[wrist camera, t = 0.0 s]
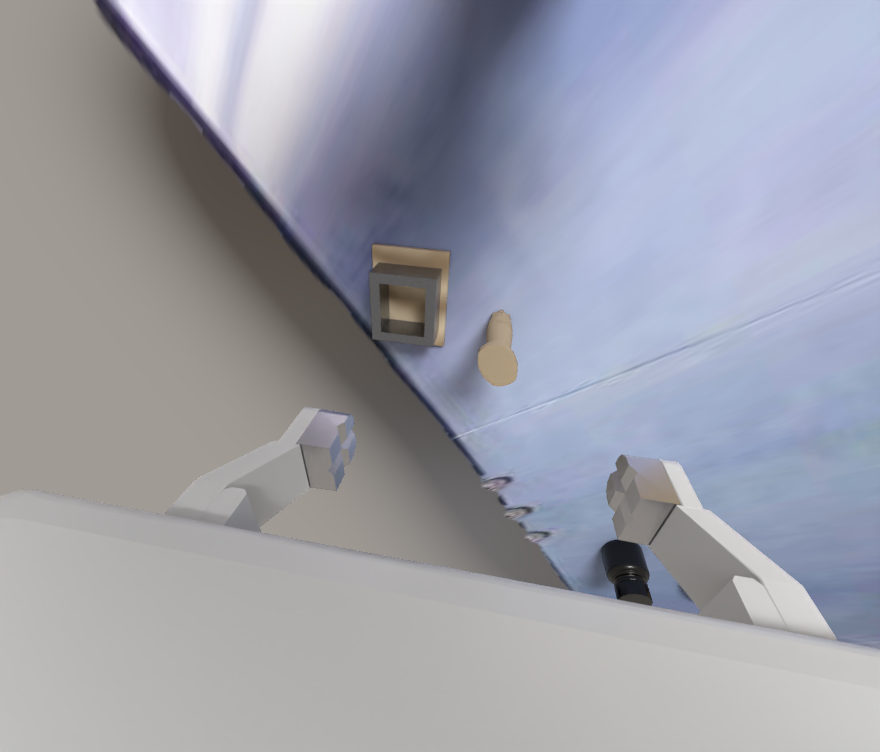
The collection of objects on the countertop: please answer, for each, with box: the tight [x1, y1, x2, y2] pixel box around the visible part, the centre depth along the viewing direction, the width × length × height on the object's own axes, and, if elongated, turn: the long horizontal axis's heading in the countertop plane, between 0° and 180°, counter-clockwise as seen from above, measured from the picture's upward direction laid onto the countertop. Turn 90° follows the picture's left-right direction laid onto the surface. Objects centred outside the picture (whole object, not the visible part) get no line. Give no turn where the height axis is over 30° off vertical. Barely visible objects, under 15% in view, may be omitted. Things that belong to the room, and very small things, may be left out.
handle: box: [478, 310, 518, 386], centre depth 54 cm, size 5×6×15 cm
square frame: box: [369, 262, 442, 347], centre depth 58 cm, size 11×10×5 cm
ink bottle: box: [602, 540, 653, 606], centre depth 83 cm, size 10×9×12 cm
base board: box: [372, 244, 450, 346], centre depth 60 cm, size 16×12×1 cm
